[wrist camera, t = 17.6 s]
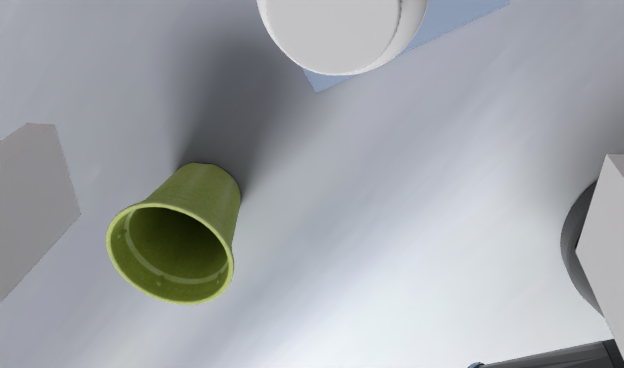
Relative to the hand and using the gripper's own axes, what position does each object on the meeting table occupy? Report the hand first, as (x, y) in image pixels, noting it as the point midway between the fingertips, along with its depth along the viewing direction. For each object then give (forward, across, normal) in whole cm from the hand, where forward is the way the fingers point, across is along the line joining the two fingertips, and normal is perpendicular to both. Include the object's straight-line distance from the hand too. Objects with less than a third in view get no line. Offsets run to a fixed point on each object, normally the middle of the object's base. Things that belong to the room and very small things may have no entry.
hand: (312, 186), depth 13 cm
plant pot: (+26, +13, +17) cm, 33 cm away
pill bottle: (+25, +1, -2) cm, 25 cm away
